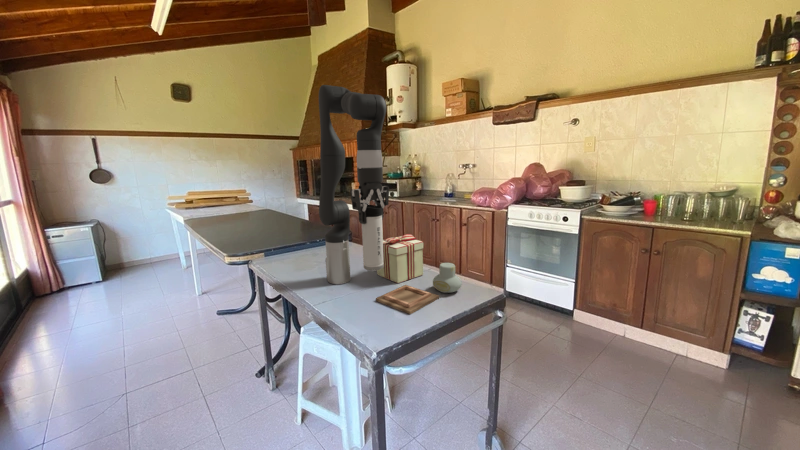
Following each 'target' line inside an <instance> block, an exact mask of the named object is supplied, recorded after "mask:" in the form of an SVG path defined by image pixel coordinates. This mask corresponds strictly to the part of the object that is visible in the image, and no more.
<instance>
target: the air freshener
mask: <svg viewBox="0 0 800 450" xmlns="http://www.w3.org/2000/svg"><path fill="white" fill-rule="evenodd" d="M462 285H463V283H462V279H461V277H459V276H458V275H457V274H456V265H455V264H454V263H452V262H442V263H440V264H439V273H438V274H437V275H436V276H434V278H433V279H432V286H433V287H434V288H435V289H436V290H437V291H439V292H440V293H442V294H443V293H444V294H448V293H449V294H451V293H454V292H455V293H456V292H457V291H458V290H460V289H461V288H462Z"/></svg>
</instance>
